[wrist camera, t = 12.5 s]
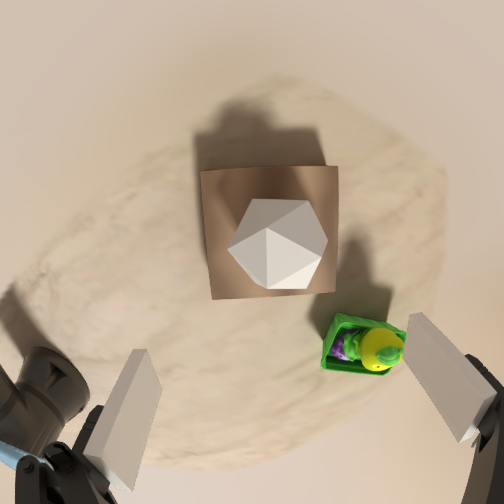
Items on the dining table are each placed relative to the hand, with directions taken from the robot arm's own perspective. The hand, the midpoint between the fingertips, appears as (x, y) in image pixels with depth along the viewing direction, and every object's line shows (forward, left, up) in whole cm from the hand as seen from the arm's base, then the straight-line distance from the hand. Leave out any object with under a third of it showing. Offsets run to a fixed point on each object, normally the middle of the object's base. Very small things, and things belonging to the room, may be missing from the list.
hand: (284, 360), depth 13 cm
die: (+1, +1, -18) cm, 19 cm away
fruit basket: (+13, -15, -23) cm, 30 cm away
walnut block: (+1, +1, -23) cm, 23 cm away
